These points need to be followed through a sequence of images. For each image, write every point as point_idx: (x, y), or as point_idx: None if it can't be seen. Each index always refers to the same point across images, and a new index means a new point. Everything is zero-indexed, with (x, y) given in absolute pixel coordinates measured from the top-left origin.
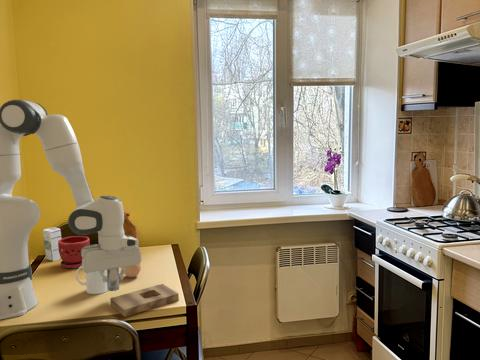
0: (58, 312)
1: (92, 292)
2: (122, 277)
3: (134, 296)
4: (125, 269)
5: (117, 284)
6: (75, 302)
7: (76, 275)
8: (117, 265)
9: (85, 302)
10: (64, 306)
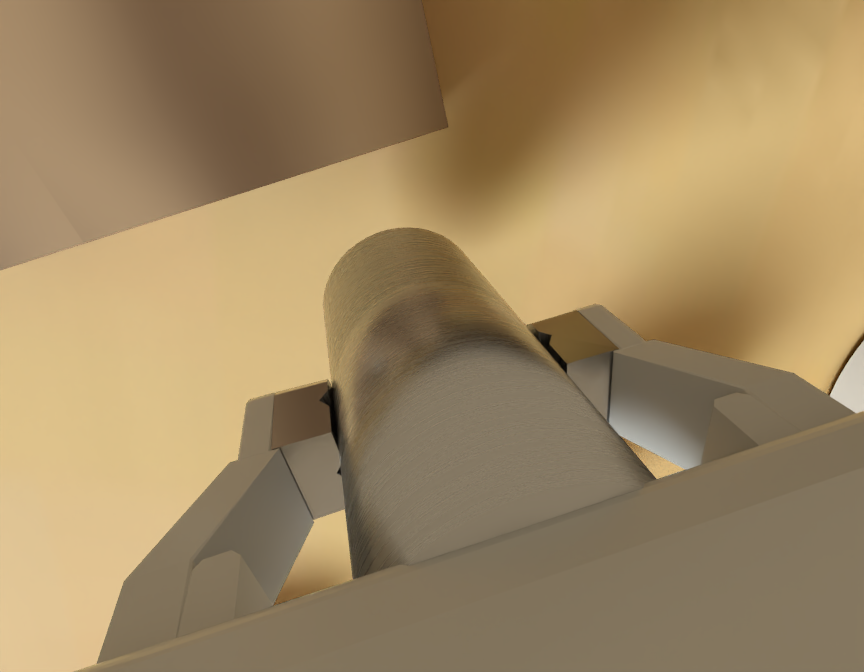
0: (822, 164)
1: None
2: (259, 411)
3: (49, 5)
4: (144, 575)
5: (356, 284)
6: (669, 317)
7: None
8: (423, 647)
9: (611, 291)
10: (749, 269)
